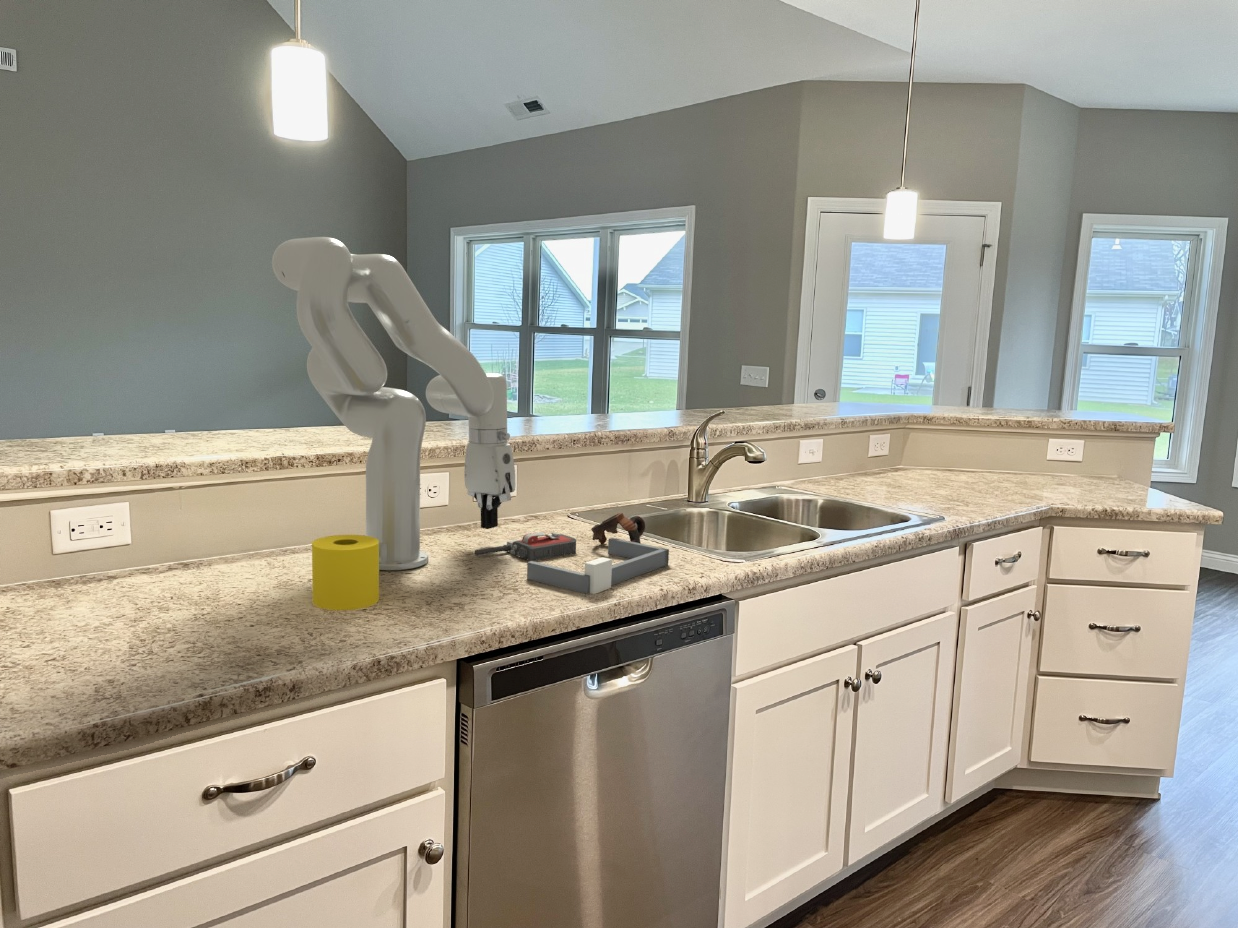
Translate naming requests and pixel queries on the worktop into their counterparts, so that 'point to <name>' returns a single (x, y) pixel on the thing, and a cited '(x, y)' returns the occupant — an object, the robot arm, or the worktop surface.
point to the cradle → (602, 568)
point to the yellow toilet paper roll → (345, 572)
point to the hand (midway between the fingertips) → (489, 527)
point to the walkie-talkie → (536, 546)
